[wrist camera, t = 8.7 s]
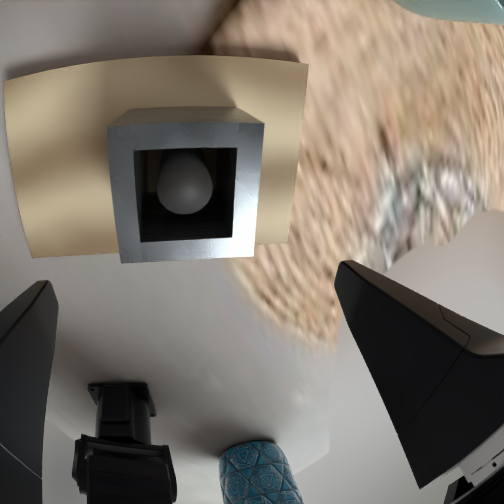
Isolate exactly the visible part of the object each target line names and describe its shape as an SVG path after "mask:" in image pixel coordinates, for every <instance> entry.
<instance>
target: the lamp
mask: <svg viewBox="0 0 504 504" xmlns="http://www.w3.org/2000/svg"><path fill="white" fill-rule="evenodd" d="M219 478H220V485H221V491H222V496H223V502H224V504H303V501H302V498H301V495H300V492H299V490H298V487H297V485H296V482H295V479H294V476H293V474H292V471H291V469H290V466H289V464H288V462H287V459H286V457H285V455H284V453H283V452H282V450H281V449H280V447H279V446H278V445H276V444H274V443H272V442H269V441H253V442H247V443H242V444H239V445H236V446H233V447H231V448H229V449H227V450H226V451H225V452H224V453H223V454H222V455H221V457H220V459H219Z"/></svg>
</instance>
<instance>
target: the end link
mask: <svg viewBox="0 0 504 504" xmlns="http://www.w3.org/2000/svg"><path fill="white" fill-rule="evenodd" d="M264 126H265V123H263V122H261V121H260V120H258V119H257V118H255V117H253V116H252V115H250V114H248V113H247V112H245V111H243V110H242V109H240V108H238V107H227V106H182V107H155V108H138V109H128V110H127V111H126V112H125V113H123V114H122V115H121V116H120V117H118V118H117V119H116V120H115V121H114V122H112V123H111V124H110V125H109V126H108V127H107V144H108V160H109V172H110V183H111V193H112V203H113V211H114V219H115V227H116V234H117V240H118V247H119V253H120V259H121V263H138V262H156V261H173V260H191V259H208V258H225V257H242V256H253V251H254V239H255V228H256V217H257V206H258V194H259V183H260V172H261V160H262V149H263V138H264ZM213 147H217V161H216V189H212V195H211V197H210V199H209V201H208V203H207V204H206V205H205V206H204V207H203V208H202V209H200V210H199V211H197V212H194V213H191V214H177V213H174V212H171V211H170V210H168V209H167V208H165V207H164V206H163V204H162V203H161V202H160V200H159V197H158V194H157V191H153V192H149V185H148V162H147V150H151V149H172V148H213Z"/></svg>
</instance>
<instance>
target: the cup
mask: <svg viewBox="0 0 504 504" xmlns="http://www.w3.org/2000/svg"><path fill="white" fill-rule="evenodd" d="M393 1H394V2H396V3H397V4H398V5H400V6H401V7H403V8H404V9H406V10H408V11H410V12H411V13H414V14H416V15H420V16H424V17H427V18H431V19H437V20H445V21H455V22H468V23H480V24H491V25H501V26H504V0H393Z"/></svg>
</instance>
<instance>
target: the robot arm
mask: <svg viewBox="0 0 504 504" xmlns="http://www.w3.org/2000/svg"><path fill="white" fill-rule="evenodd" d="M334 287H335V290H336V293H337V296H338V299H339V301H340V304H341V307H342V310H343V313H344V315H345V318H346V321H347V324H348V326H349V328H350V331H351V333H352V335H353V337H354V339H355V341H356V343H357V345H358V348H359V349H360V352H361V354H362V356H363V358H364V360H365V362H366V365H367V367H368V369H369V371H370V373H371V375H372V378H373V380H374V382H375V384H376V387H377V388H378V391H379V393H380V395H381V398H382V400H383V402H384V405H385V407H386V409H387V411H388V414H389V416H390V418H391V421H392V423H393V425H394V428H395V430H396V432H397V434H398V438H399V440H400V442H401V445H402V447H403V450H404V452H405V454H406V457H407V459H408V462H409V464H410V467H411V469H412V472H413V475H414V477H415V479H416V482H417V485H418V487H419V489H422V488H424V487H426V486H428V485H429V484H431V483H433V482H435V481H436V480H438V479H439V478H441V477H443V476H445V475H446V474H448V473H450V472H451V471H453V470H454V469H456V468H457V467H460V469H461V471H462V473H463V474H464V476H462V477H461V478H459V479H458V480H456V481H455V482H453V483H452V484H450V485H449V486H448V490H447V494H446V497H445V501H444V504H504V335H502V334H499V333H497V332H495V331H493V330H491V329H488V328H487V327H484V326H482V325H480V324H478V323H476V322H474V321H471V320H469V319H467V318H465V317H463V316H460V315H459V314H457V313H455V312H453V311H451V310H449V309H447V308H445V307H443V306H442V305H440V304H437V303H436V302H434V301H432V300H430V299H428V298H426V297H424V296H422V295H420V294H419V293H417V292H414V291H413V290H411V289H409V288H407V287H405V286H403V285H401V284H399V283H397V282H395V281H393V280H391V279H389V278H387V277H385V276H383V275H381V274H379V273H377V272H375V271H373V270H371V269H369V268H367V267H365V266H363V265H361V264H359V263H357V262H355V261H353V260H346V261H341V262H340V263H339V266H338V270H337V274H336V278H335V282H334ZM57 317H58V301H57V298H56V295H55V293H54V290H53V287H52V284H51V282H50V281H48V280H42V281H37V282H36V283H34V284H33V285H32V286H31V287H29V288H28V289H27V290H26V291H24V292H23V293H22V294H21V295H19V296H18V297H17V298H16V299H15V300H14V301H12V302H11V303H10V304H9V305H8V306H6V307H5V308H4V309H3V310H2V311H1V312H0V504H42V479H41V478H42V451H43V434H44V422H45V412H46V403H47V395H48V387H49V380H50V374H51V368H52V362H53V356H54V348H55V337H56V327H57ZM88 391H89V393H90V395H91V396H92V398H93V400H94V402H95V404H96V405H97V414H96V432H95V437H90V436H87V435H84V434H81V439H78V440H75V453H74V454H75V455H74V461H73V468H72V478H73V479H74V480H75V481H76V482H77V486H78V487H79V490H80V494H85V495H87V504H172V503H175V501H176V498H177V483H176V476H175V472H174V468H173V464H172V460H171V455H170V451H169V446H168V445H162V446H160V445H151V431H150V417H155V416H156V415H157V414H156V409H155V406H154V403H153V400H152V397H151V394H150V391H149V387H148V385H147V384H145V383H125V384H88Z"/></svg>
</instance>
